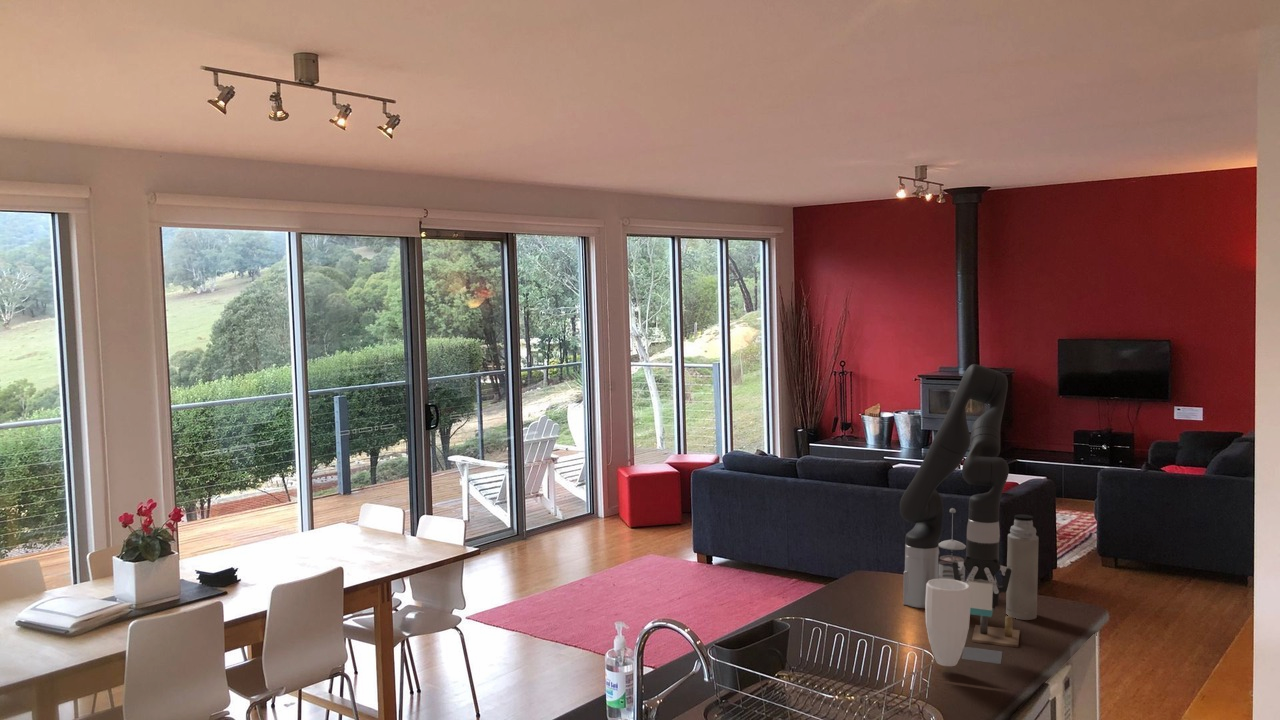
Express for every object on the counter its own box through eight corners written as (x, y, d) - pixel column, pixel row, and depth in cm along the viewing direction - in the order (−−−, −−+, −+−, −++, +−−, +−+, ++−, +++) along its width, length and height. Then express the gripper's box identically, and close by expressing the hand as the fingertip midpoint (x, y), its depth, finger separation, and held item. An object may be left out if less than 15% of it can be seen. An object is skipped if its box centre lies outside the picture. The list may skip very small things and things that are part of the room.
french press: (970, 596, 291) (972, 512, 289) (929, 593, 293) (931, 510, 291) (966, 586, 300) (967, 505, 299) (926, 584, 303) (928, 504, 301)
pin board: (971, 643, 250) (972, 620, 250) (975, 629, 262) (975, 606, 261) (1018, 649, 246) (1018, 625, 246) (1019, 634, 257) (1020, 611, 257)
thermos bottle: (1002, 610, 277) (1004, 512, 276) (1031, 611, 277) (1034, 512, 275) (1010, 619, 269) (1012, 518, 268) (1040, 620, 269) (1042, 519, 267)
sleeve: (967, 613, 239) (968, 581, 238) (969, 606, 244) (970, 575, 244) (991, 617, 237) (992, 584, 236) (992, 610, 242) (994, 578, 241)
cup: (933, 663, 237) (935, 575, 236) (976, 673, 231) (978, 583, 229) (915, 676, 229) (917, 585, 228) (959, 687, 223) (961, 593, 221)
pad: (961, 661, 239) (961, 658, 239) (964, 648, 247) (964, 646, 247) (1000, 666, 235) (1000, 663, 235) (1002, 653, 243) (1002, 651, 243)
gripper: (950, 538, 238) (948, 606, 240) (1013, 545, 233) (1011, 614, 234) (953, 531, 245) (951, 597, 247) (1015, 537, 240) (1012, 605, 241)
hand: (980, 605), depth 240 cm, fingers closed on sleeve, 5 cm apart
